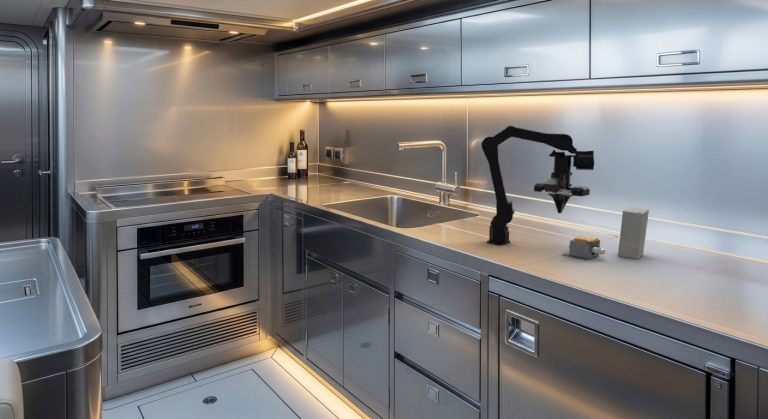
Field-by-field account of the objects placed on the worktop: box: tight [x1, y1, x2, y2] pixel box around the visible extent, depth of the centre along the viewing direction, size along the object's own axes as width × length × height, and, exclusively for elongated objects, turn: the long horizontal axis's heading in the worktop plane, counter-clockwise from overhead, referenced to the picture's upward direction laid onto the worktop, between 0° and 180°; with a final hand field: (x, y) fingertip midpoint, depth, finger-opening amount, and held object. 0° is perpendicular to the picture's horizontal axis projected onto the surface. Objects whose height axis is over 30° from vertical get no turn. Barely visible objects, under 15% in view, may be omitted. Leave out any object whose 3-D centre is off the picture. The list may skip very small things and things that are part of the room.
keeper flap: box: [573, 235, 599, 243], centre depth 178 cm, size 6×4×1 cm
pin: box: [568, 244, 606, 256], centre depth 177 cm, size 11×4×4 cm, turn 44°
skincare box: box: [617, 206, 650, 260], centre depth 178 cm, size 8×7×16 cm
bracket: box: [561, 236, 601, 261], centre depth 179 cm, size 9×8×6 cm
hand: (559, 213), depth 191 cm, fingers closed
